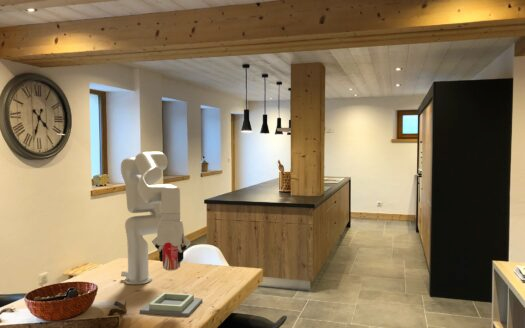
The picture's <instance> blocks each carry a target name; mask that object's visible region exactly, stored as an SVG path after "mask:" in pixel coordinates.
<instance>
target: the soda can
mask: <svg viewBox="0 0 525 328" xmlns="http://www.w3.org/2000/svg"><path fill="white" fill-rule="evenodd" d="M178 252H179V250H178V247H177V246H176V247H175V246H173V245H172V244H171V243H169V242H168V243H165V244H164V246H162V257H163V261H162V268H163V269H164V270H165V271H169V272H171V271H177V270H178V269H179V268H181V262H178Z"/></svg>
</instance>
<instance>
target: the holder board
mask: <svg viewBox="0 0 525 328" xmlns="http://www.w3.org/2000/svg"><path fill="white" fill-rule="evenodd" d="M202 302H203V298H196V297H195V295H194V294H191V293H175V292H163V293H161V294H160V295H157V296H156V297H154V298H153V299H152V300H151V301H149V302H148V303H146V305H144V306H143V307H142V308H140V309H139V314H148V315H163V316H175V317H177V316H178V317H190V315H191V314H192V313H193V312H194V311H195V310H196V309H197V308H198V307H199V306H200V305H201V303H202Z"/></svg>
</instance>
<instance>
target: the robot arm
mask: <svg viewBox="0 0 525 328" xmlns="http://www.w3.org/2000/svg"><path fill="white" fill-rule="evenodd" d="M168 163H169V162H168V158H167V155H166V154H165V153H163V152H161V151H143V152H140V153H138V154H136V156H135V157H133V156H132V157H127V158H124V159H123V160H121V163H120V174H121V175H122V176H121V177H122V179H123V181H124V185H125V194H126V207H127V211H128V212H129V213H130V214H142V213H149V214H145V215H144V214H143V215H134V216H131V217H129V218H127V219H126V220H125V223H124V228H125V233H126V239H127V241H126V242H127V271H124V270H123V271H121V273H120V276H121V277H125V278H124V283H125V284H127V285H131V286H132V285H133V286H137V285H143V284H147V283H150V282H152V279H153V277H152V276H151V275H149V273H150V272H149V243H148V241H147V240H146V239H145V238H144V237H143V236H146V235H156V237H155V238H154V239H153V240H151V242H152V244H153V246H154V248H156V250H157V252H159V253H158V254H159V255H158V256H159V257H158V258H159V262H162V263H163V257H162V246H164V244H165V243H168V242H169V243H171V244H172V245H173V246H175V247H176V246H177V247H178V250H179V252H178V262H180V263H182V262H183V260H184V251H185V250H186V249H187V248H188V247H189V246H190V245H191V241H190V240H189V239H188V238H187V237H186V236H185V230H184V229H185V228H184V223H183V220H182V219H181V189H180V187H178V186H177V185H174V184H169V183H168V184H155V183H157V182H158V181H160V179H161V178H162V175H163V171H165V170H166V168H168ZM139 176H140V177H139ZM184 243H185V244H184ZM183 244H184V245H183Z"/></svg>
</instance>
